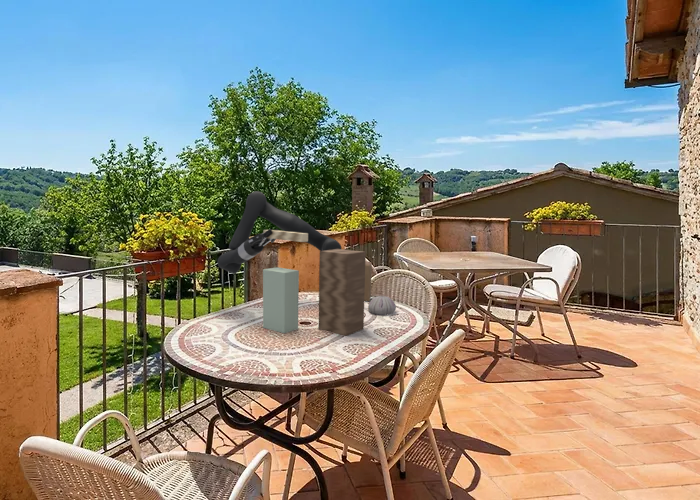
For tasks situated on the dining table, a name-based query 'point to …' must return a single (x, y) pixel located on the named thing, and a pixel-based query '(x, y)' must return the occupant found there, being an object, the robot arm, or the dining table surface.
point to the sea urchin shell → (382, 305)
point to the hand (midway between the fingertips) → (274, 231)
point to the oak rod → (288, 236)
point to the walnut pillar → (341, 291)
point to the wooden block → (368, 281)
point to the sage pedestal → (280, 299)
